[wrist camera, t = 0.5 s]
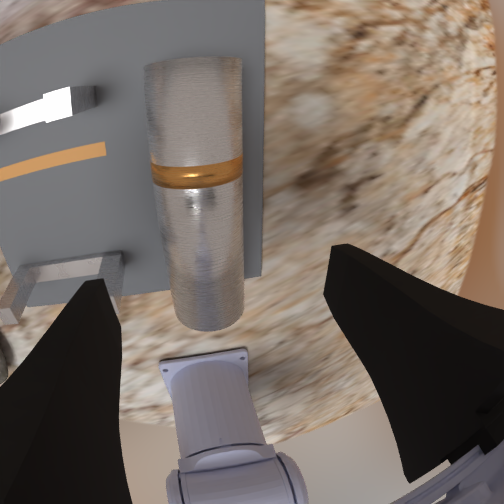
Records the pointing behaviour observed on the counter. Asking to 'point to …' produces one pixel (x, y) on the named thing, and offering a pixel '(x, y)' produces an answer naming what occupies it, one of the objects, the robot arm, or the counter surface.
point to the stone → (3, 368)
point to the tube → (199, 184)
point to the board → (114, 136)
